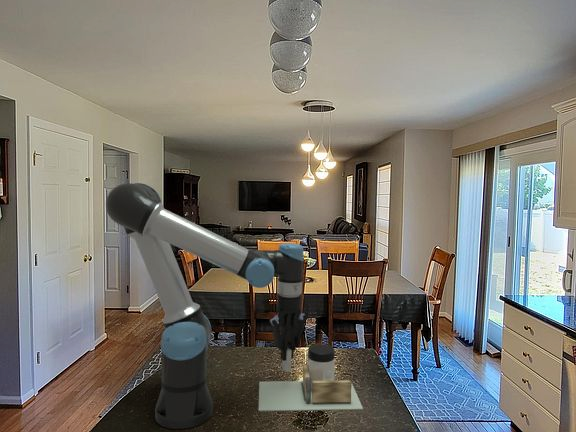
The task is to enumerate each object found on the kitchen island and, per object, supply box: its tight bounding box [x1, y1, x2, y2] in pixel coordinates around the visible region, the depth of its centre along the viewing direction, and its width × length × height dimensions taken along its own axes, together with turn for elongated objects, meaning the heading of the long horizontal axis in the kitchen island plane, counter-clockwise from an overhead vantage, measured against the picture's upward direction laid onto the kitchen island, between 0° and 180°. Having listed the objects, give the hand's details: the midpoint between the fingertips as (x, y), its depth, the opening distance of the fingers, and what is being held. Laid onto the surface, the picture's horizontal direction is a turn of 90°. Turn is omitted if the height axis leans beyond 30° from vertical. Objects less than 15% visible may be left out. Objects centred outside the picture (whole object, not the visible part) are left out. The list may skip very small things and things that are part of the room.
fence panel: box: [302, 363, 310, 398], centre depth 125 cm, size 11×2×6 cm, turn 2°
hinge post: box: [306, 377, 311, 404], centre depth 119 cm, size 1×1×8 cm
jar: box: [306, 343, 336, 391], centre depth 128 cm, size 9×8×12 cm
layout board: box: [258, 380, 364, 412], centre depth 124 cm, size 29×17×1 cm, turn 93°
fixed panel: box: [312, 379, 353, 403], centre depth 119 cm, size 11×2×6 cm, turn 93°
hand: (286, 369), depth 129 cm, fingers closed
